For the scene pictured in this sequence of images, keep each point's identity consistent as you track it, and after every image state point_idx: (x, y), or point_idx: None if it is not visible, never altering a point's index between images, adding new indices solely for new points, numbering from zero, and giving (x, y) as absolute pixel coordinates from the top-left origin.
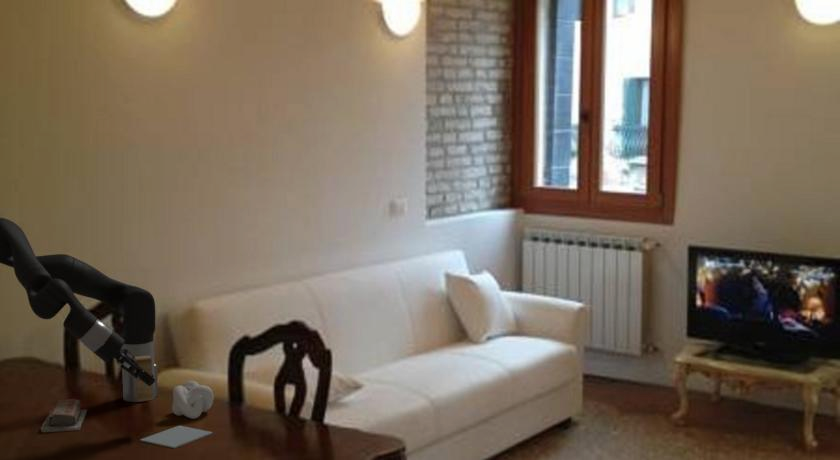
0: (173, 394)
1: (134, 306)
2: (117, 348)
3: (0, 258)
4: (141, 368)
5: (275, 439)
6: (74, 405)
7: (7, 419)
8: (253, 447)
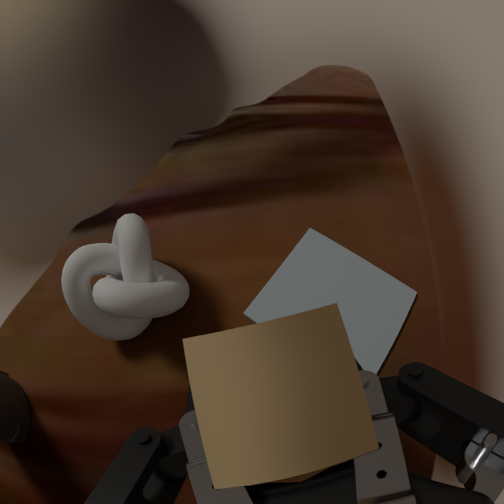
0: (143, 314)
1: None
2: None
3: None
4: (377, 389)
5: (339, 139)
6: None
7: None
8: (384, 163)
